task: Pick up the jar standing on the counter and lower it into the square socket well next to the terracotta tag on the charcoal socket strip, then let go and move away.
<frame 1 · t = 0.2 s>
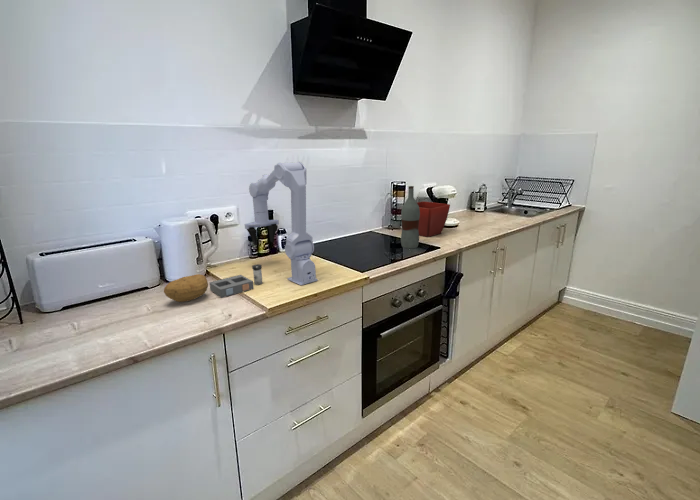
hand: (263, 243, 160), 10 cm above the worktop, tool pointing down, fingers open, 7 cm apart
bottle: (409, 246, 188), on the worktop
plant pot: (425, 234, 214), on the worktop
jar: (258, 283, 140), on the worktop
potato: (188, 300, 126), on the worktop
socket strip: (232, 289, 135), on the worktop
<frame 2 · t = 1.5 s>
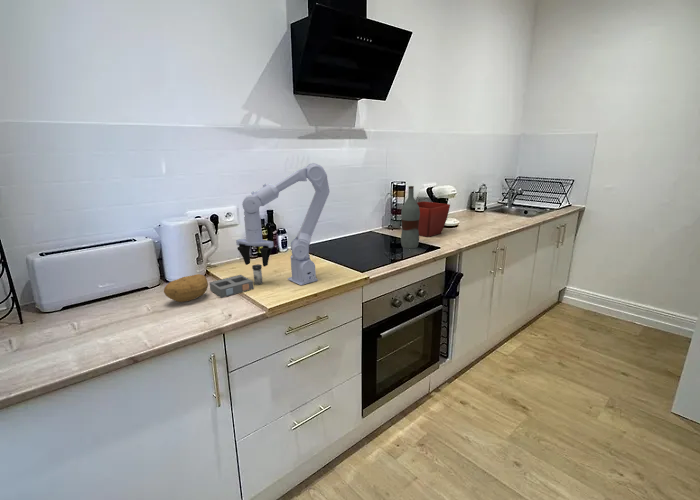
hand: (256, 264, 139), 7 cm above the worktop, tool pointing down, fingers open, 7 cm apart
nothing on the worktop moved.
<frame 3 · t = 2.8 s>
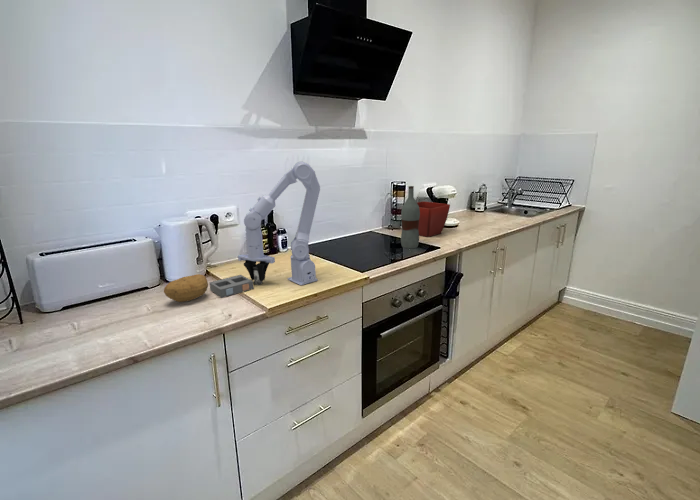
hand: (258, 279, 140), 1 cm above the worktop, tool pointing down, fingers closed on jar, 3 cm apart
jar: (258, 283, 140), on the worktop, touching gripper
everything else where it was.
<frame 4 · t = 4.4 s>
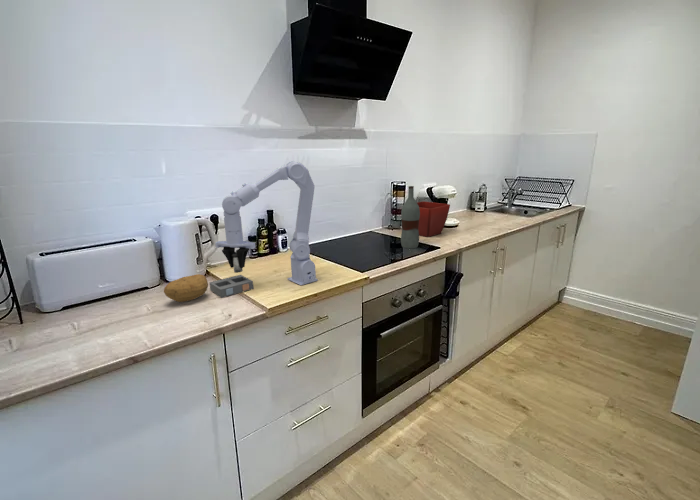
hand: (237, 267, 135), 8 cm above the worktop, tool pointing down, fingers closed on jar, 3 cm apart
jar: (238, 271, 135), point 6 cm above the worktop, touching gripper
everything else where it was.
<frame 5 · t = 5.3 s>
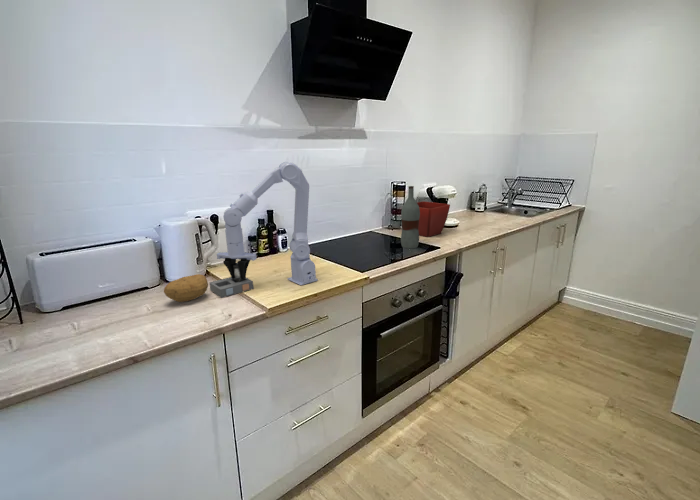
hand: (238, 278, 136), 4 cm above the worktop, tool pointing down, fingers closed on jar, 3 cm apart
jar: (239, 282, 136), point 2 cm above the worktop, touching gripper
everything else where it was.
when the fingers open (4 cm above the worktop, at t = 6.0 s): jar drops 2 cm, resting in socket strip.
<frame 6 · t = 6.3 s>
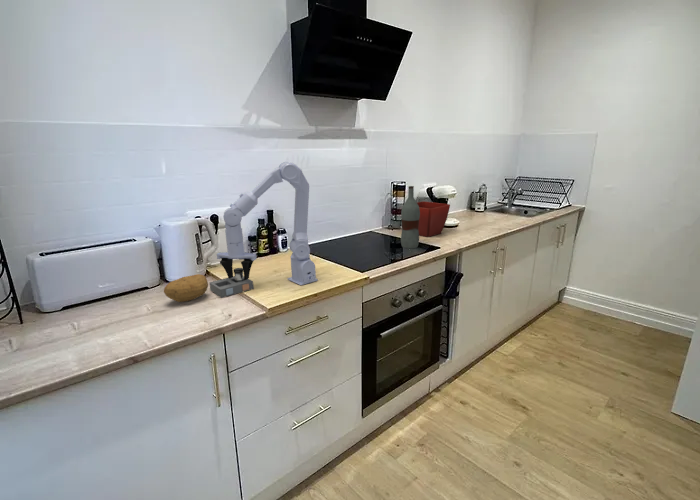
hand: (238, 278, 136), 4 cm above the worktop, tool pointing down, fingers open, 6 cm apart
jar: (240, 287, 137), resting in socket strip
everything else where it was.
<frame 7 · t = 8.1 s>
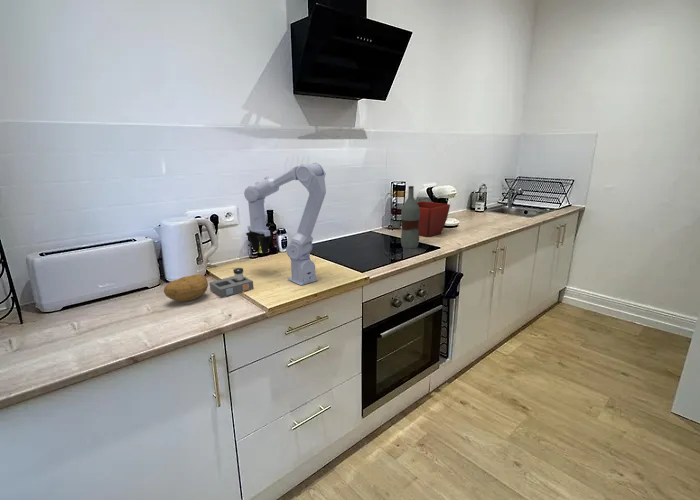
hand: (260, 251, 147), 10 cm above the worktop, tool pointing down, fingers open, 7 cm apart
nothing on the worktop moved.
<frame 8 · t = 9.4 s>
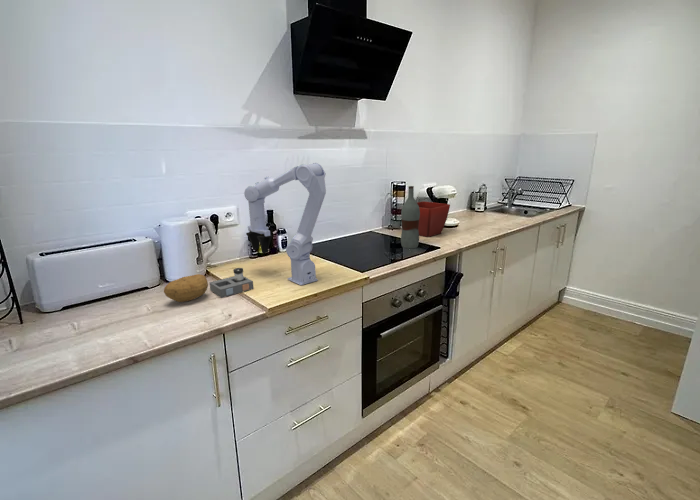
hand: (260, 251, 147), 10 cm above the worktop, tool pointing down, fingers open, 7 cm apart
nothing on the worktop moved.
at the end: jar 0.1 cm from the target spot on the socket strip, point 0.0 cm above the socket strip's base; jar tilted 0°; the gripper is holding nothing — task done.
